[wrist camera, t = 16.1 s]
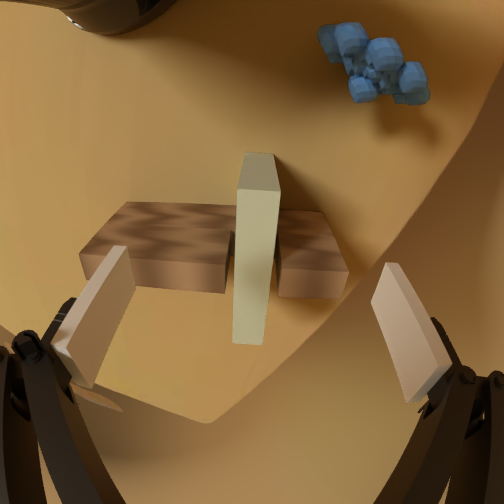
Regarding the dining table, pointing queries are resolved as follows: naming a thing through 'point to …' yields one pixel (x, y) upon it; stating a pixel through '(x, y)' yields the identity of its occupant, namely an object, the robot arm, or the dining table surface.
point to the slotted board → (216, 248)
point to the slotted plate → (254, 245)
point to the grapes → (374, 65)
